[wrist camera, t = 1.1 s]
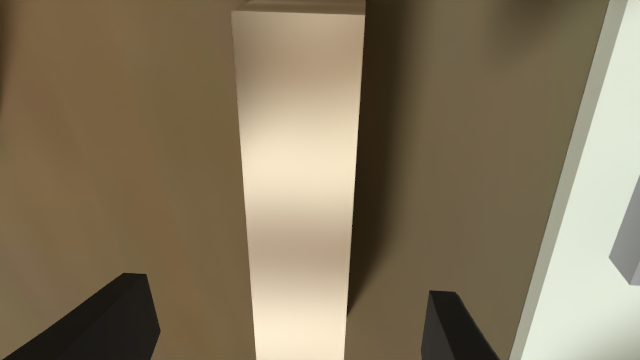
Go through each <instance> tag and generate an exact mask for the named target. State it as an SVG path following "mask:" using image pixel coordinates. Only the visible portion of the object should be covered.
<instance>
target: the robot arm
mask: <svg viewBox="0 0 640 360" xmlns="http://www.w3.org/2000/svg"><path fill="white" fill-rule="evenodd" d="M160 332H161V331H160V327H159V323H158V319H157V315H156V311H155V307H154V303H153V299H152V295H151V291H150V287H149V283H148V279H147V275H146V274H135V273H123V274H121V275H120V276H119V277H117V278H116V279H114V280H113V281H111V282H110V283H109V284H107V285H106V286H105V287H103V288H102V289H101V290H99V291H98V292H96V293H95V294H94V295H92V296H91V297H90V298H88V299H87V300H86V301H84V302H83V303H82V304H80V305H79V306H78V307H76V308H75V309H74V310H72V311H71V312H70V313H68V314H67V315H65V316H64V317H63V318H61V319H60V320H59V321H57V322H56V323H55V324H53V325H52V326H51V327H49V328H48V329H46V330H45V331H44V332H42V333H41V334H39V335H38V336H36V337H35V338H33V339H32V340H30V341H29V342H27V343H26V344H25V345H23V346H22V347H20V348H19V349H17V350H16V351H14V352H13V353H11V354H10V355H8V356H7V357H5V358H4V359H3V360H150V359H151V356H152V354H153V351H154V348H155V346H156V343H157V340H158V337H159V334H160ZM421 355H422V360H500V359H499V358H498V356H497V355H496V353H495V352H494V351H493V349H492V348H491V346H490V345H489V343H488V342H487V340H486V339H485V337H484V336H483V334H482V333H481V331H480V330H479V328H478V327H477V325H476V324H475V322H474V320H473V319H472V317H471V316H470V314H469V312H468V311H467V309H466V307H465V306H464V304H463V302H462V300H461V299H460V297H459V296H458V295H457V293H456V292H447V291H430V290H429V297H428V304H427V311H426V318H425V325H424V332H423V339H422V346H421Z"/></svg>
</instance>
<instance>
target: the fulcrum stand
mask: <svg viewBox="0 0 640 360" xmlns="http://www.w3.org/2000/svg"><path fill="white" fill-rule="evenodd" d="M509 360H640V0H610V1H609V5H608V9H607V12H606V16H605V19H604V23H603V26H602V30H601V34H600V37H599V41H598V44H597V48H596V51H595V55H594V59H593V62H592V66H591V69H590V73H589V76H588V80H587V84H586V87H585V91H584V94H583V98H582V101H581V105H580V109H579V112H578V116H577V119H576V123H575V126H574V130H573V134H572V137H571V141H570V144H569V148H568V151H567V155H566V159H565V162H564V166H563V169H562V173H561V176H560V180H559V184H558V187H557V191H556V194H555V198H554V201H553V205H552V209H551V212H550V216H549V219H548V223H547V226H546V230H545V234H544V237H543V241H542V244H541V248H540V251H539V255H538V259H537V262H536V266H535V269H534V273H533V276H532V280H531V284H530V287H529V291H528V294H527V298H526V301H525V305H524V309H523V312H522V316H521V319H520V323H519V326H518V330H517V334H516V337H515V341H514V344H513V348H512V351H511V355H510V359H509Z"/></svg>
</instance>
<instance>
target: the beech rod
mask: <svg viewBox="0 0 640 360" xmlns="http://www.w3.org/2000/svg"><path fill="white" fill-rule="evenodd" d="M365 6H366V0H252V1H250V2H248V3H246V4H244V5H242V6H240V7H238V8H236V9H234V10H232V11H231V19H232V32H233V46H234V60H235V73H236V87H237V100H238V114H239V128H240V141H241V155H242V168H243V182H244V196H245V209H246V223H247V236H248V250H249V264H250V277H251V291H252V304H253V318H254V332H255V345H256V359H257V360H344V345H345V329H346V313H347V297H348V281H349V265H350V249H351V233H352V217H353V201H354V185H355V169H356V153H357V137H358V121H359V105H360V89H361V73H362V57H363V41H364V25H365Z"/></svg>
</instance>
